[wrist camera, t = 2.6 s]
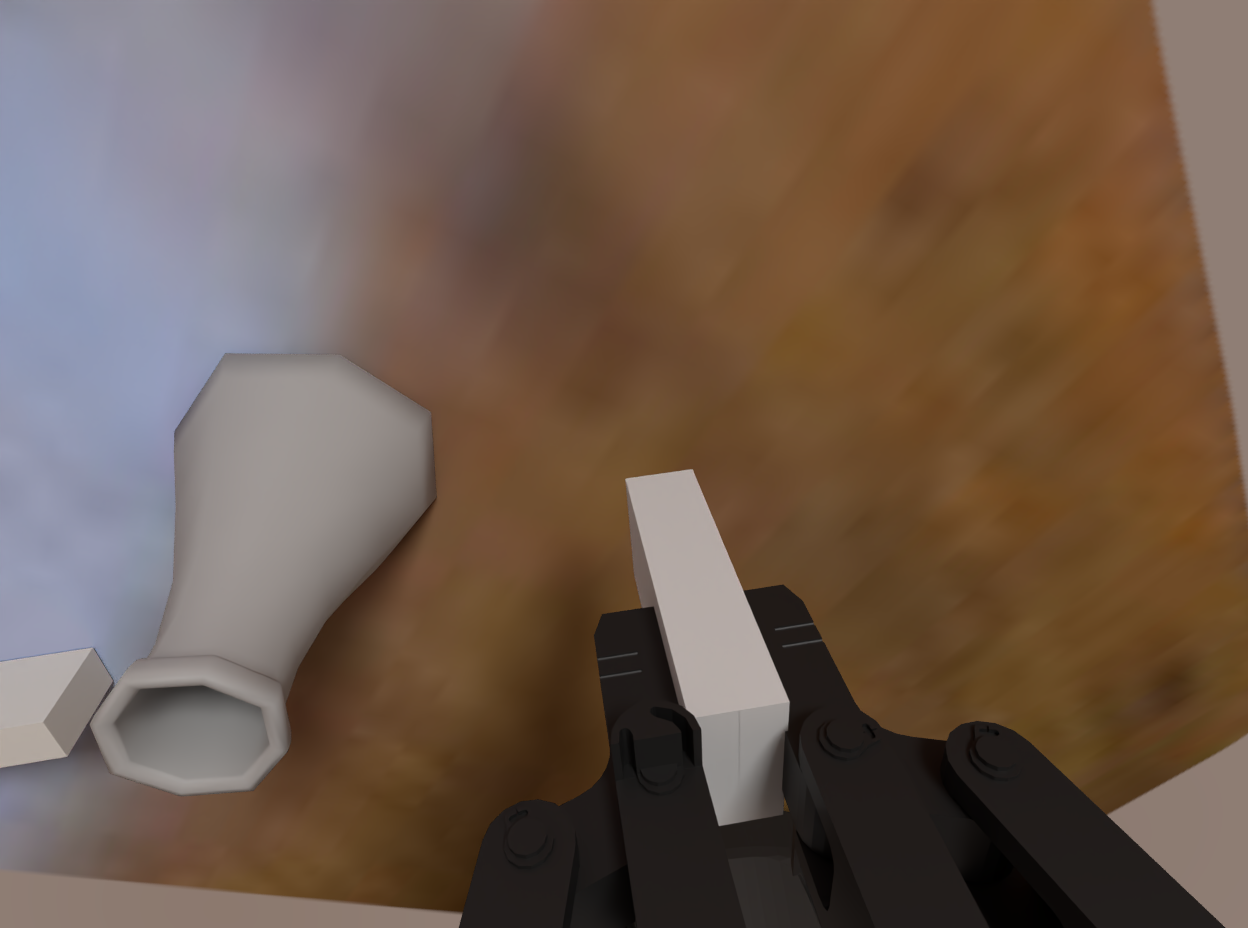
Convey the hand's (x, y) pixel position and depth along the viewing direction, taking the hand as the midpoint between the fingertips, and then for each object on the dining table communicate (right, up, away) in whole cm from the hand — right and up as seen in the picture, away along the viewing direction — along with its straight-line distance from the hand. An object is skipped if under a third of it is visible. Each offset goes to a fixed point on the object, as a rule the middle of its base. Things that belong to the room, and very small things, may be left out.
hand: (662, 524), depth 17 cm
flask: (-10, +2, +5) cm, 11 cm away
